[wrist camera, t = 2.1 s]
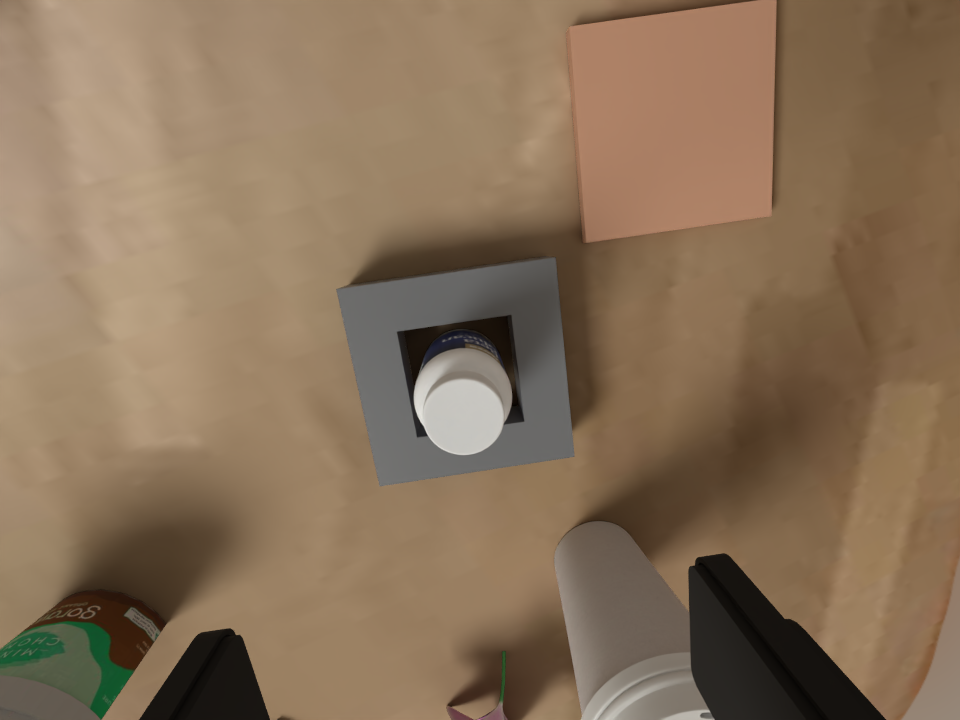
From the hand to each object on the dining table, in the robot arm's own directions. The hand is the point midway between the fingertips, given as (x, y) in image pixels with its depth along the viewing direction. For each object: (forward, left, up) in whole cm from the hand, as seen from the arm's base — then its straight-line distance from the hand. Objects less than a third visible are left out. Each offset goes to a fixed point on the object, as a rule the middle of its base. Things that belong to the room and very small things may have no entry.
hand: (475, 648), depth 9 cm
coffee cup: (+17, +8, -23) cm, 29 cm away
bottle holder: (0, 0, -22) cm, 22 cm away
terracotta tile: (-13, +15, -22) cm, 30 cm away
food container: (+15, -31, -23) cm, 41 cm away
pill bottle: (0, 0, -23) cm, 23 cm away
